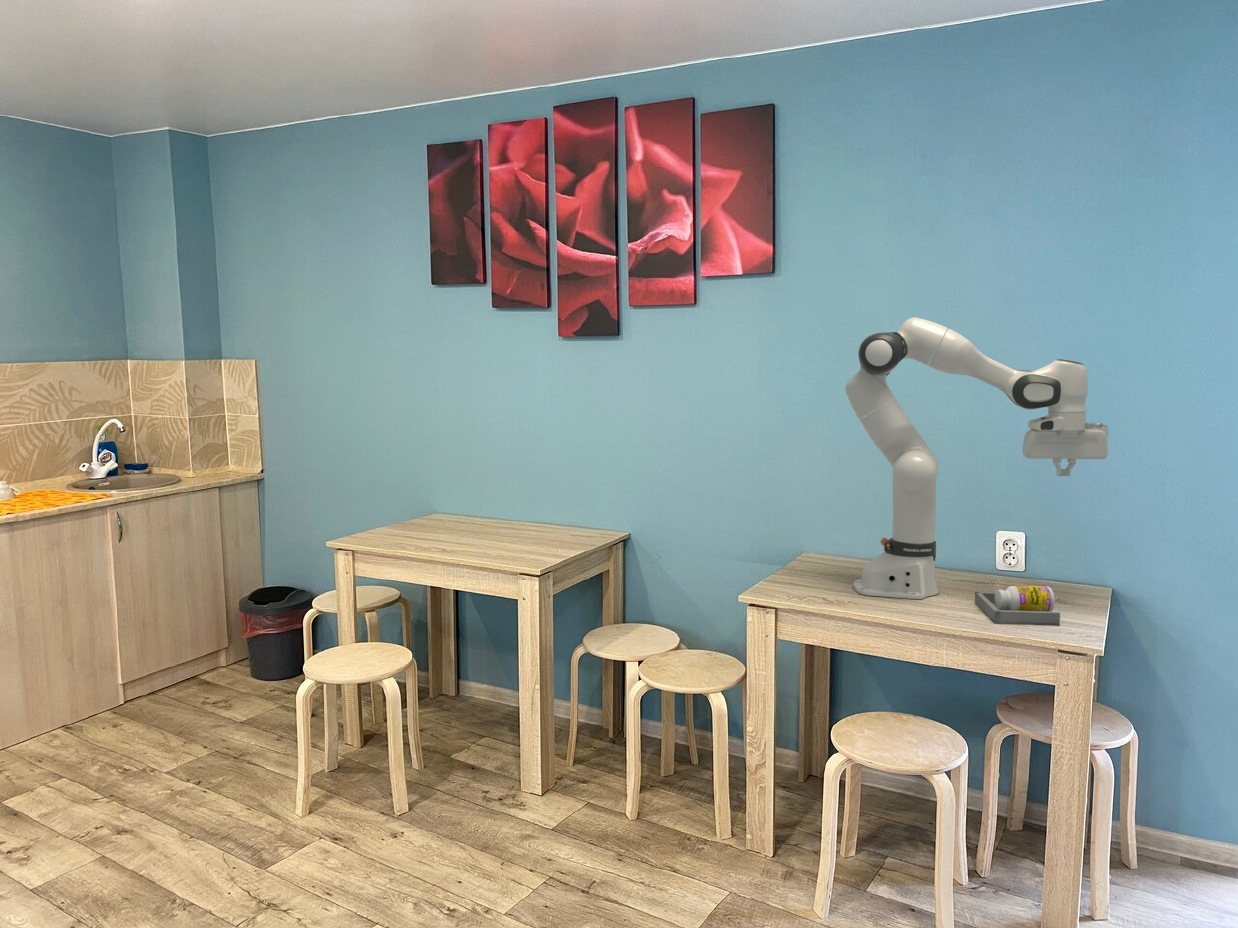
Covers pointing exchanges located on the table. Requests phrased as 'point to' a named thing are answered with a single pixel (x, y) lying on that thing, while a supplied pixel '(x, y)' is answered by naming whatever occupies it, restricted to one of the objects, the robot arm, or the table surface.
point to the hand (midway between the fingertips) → (1063, 476)
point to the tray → (1013, 612)
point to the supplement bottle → (1026, 598)
